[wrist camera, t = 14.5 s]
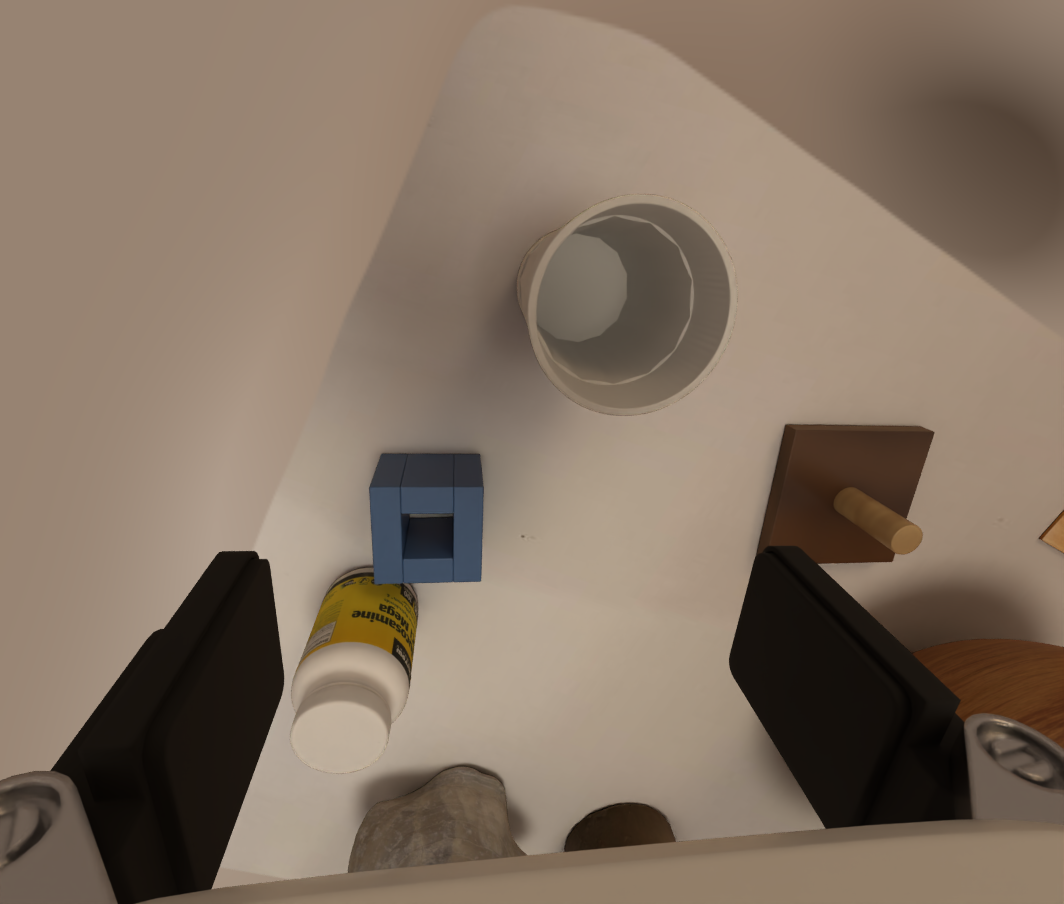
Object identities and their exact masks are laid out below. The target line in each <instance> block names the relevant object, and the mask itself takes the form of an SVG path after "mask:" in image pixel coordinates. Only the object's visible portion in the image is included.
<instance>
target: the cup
mask: <svg viewBox="0 0 1064 904" xmlns="http://www.w3.org/2000/svg"><path fill="white" fill-rule="evenodd" d="M517 297H518V302H519V306H520V308H521V311H522V313H523V315H524V317H525V320H526V323H527V327H528V331H529V336H530V340H531V344H532V347H533V350H534V353H535V356H536V358H537V360H538V362H539V364H540V366H541V368H542V370H543V371H544V373H545V374H546V376H547V377H548V378H549V380H550V381H551V382H552V383H553V385H554V386H555V387H556V388H557V389H558V390H559V391H560V392H562V393H563V394H564V395H565V396H566V397H568V398H569V399H571V400H572V401H574V402H575V403H577V404H579V405H581V406H583V407H585V408H587V409H590V410H592V411H595V412H599V413H603V414H608V415H616V416H632V415H640V414H646V413H650V412H653V411H657V410H659V409H662V408H665V407H667V406H669V405H671V404H673V403H675V402H677V401H678V400H680V399H682V398H683V397H685V396H686V395H687V394H689V393H690V392H691V391H693V390H694V389H695V388H696V387H697V386H698V385H699V384H700V383H701V382H702V381H703V380H704V379H705V378H706V377H707V376H708V375H709V374H710V372H711V371H712V370H713V368H714V367H715V366H716V364H717V363H718V361H719V360H720V358H721V356H722V354H723V353H724V351H725V349H726V346H727V344H728V342H729V339H730V337H731V334H732V331H733V327H734V323H735V318H736V312H737V302H738V290H737V280H736V274H735V269H734V266H733V262H732V259H731V256H730V254H729V252H728V249H727V247H726V245H725V243H724V242H723V240H722V238H721V237H720V235H719V234H718V233H717V231H716V230H715V229H714V227H713V226H712V225H711V224H710V223H709V222H708V221H707V220H706V219H705V218H704V217H703V216H701V215H700V214H699V213H698V212H696V211H695V210H693V209H692V208H690V207H688V206H687V205H685V204H683V203H681V202H678V201H676V200H673V199H670V198H667V197H663V196H658V195H651V194H631V195H623V196H619V197H614V198H611V199H608V200H605V201H603V202H600V203H598V204H596V205H594V206H592V207H590V208H588V209H586V210H585V211H583V212H582V213H580V214H579V215H577V216H576V217H575V218H573V219H572V220H571V221H570V222H568V223H567V224H566V225H564V226H563V227H561V228H559V229H558V230H556V231H553V232H551V233H549V234H547V235H545V236H544V237H542V238H541V239H540V240H538V241H537V242H536V243H535V244H534V245H533V246H532V247H531V249H530V250H529V251H528V253H527V254H526V256H525V257H524V259H523V261H522V264H521V266H520V269H519V273H518V277H517Z"/></svg>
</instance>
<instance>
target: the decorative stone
mask: <svg viewBox="0 0 1064 904" xmlns="http://www.w3.org/2000/svg"><path fill="white" fill-rule="evenodd" d="M518 856H528V855H527V854H525V853H524V852H523V851H522V850H521V849H520V848H519V847H518V845H517V844H516V843H515V841H514V839H513V837H512V835H511V832H510V828H509V823H508V818H507V801H506V794H505V789H504V787H503V785H502V783H501V782H499V780H498V779H496V778H495V777H493V776H490V775H486V774H483V773H480V772H478V771H477V770H475V769H473V768H469V767H456V768H451V769H448V770H445V771H443V772H441V773H440V774H438V775H437V776H435V777H434V778H433V779H432V780H431V781H430V782H428V783H427V784H426V785H424V786H423V787H421V788H420V789H418V790H416V791H414V792H412V793H410V794H407V795H405V796H401V797H398V798H395V799H392V800H388V801H382V802H379V803H377V804H376V805H375V806H374V807H373V808H372V809H371V810H370V811H369V812H368V813H367V815H366V816H365V818H364V820H363V822H362V824H361V826H360V828H359V830H358V832H357V834H356V838H355V841H354V845H353V848H352V852H351V855H350V860H349V866H348V873H354V872H364V871H374V870H385V869H395V868H405V867H416V866H426V865H436V864H446V863H457V862H467V861H477V860H487V859H498V858H508V857H518Z"/></svg>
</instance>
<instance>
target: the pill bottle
mask: <svg viewBox="0 0 1064 904" xmlns="http://www.w3.org/2000/svg"><path fill="white" fill-rule="evenodd" d="M417 620H418V602H417V598H416V595H415V592H414V591H413V589H412V587H411V586H410V585H409V584H408V583H404V582H403V583H400V584H375V583H374V568H362V569H357V570H354V571H351V572H349V573H347V574H345V575H343V576H342V577H340V578H339V579H338V580H336V581H335V582H334V583H333V584H332V585H331V587H330V588H329V590H328V591H327V593H326V595H325V598H324V600H323V602H322V605H321V607H320V610H319V613H318V615H317V618H316V621H315V623H314V626H313V628H312V631H311V634H310V637H309V639H308V642H307V644H306V647H305V649H304V652H303V655H302V657H301V660H300V662H299V665H298V667H297V670H296V673H295V675H294V679H293V682H292V688H291V699H292V704H293V707H294V710H295V712H296V715H295V718H294V722H293V725H292V728H291V733H290V742H291V746H292V749H293V751H294V753H295V754H296V755H297V757H298V758H299V759H300V760H301V761H302V762H303V763H305V764H306V765H308V766H309V767H312V768H314V769H316V770H319V771H323V772H327V773H335V774H344V773H351V772H355V771H358V770H361V769H364V768H366V767H368V766H369V765H371V764H372V763H374V762H375V761H376V760H377V759H378V758H379V757H380V756H381V755H382V754H383V752H384V750H385V748H386V746H387V743H388V739H389V733H390V728H391V724H392V723H393V722H394V721H395V720H396V719H397V718H398V717H399V715H400V714H401V712H402V711H403V709H404V707H405V704H406V701H407V698H408V694H409V688H410V680H411V670H412V662H413V653H414V644H415V636H416V628H417Z"/></svg>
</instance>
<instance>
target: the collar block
mask: <svg viewBox="0 0 1064 904" xmlns="http://www.w3.org/2000/svg"><path fill="white" fill-rule="evenodd" d="M369 493H370V512H371V531H372V549H373V568H374V583H375V584H400V583H403V582H404V583H439V582H480V581H481V570H482V532H483V494H484V486H483V477H482V468H481V459H480V454H381V456H380V459H379V462H378V465H377V467H376V470H375V473H374V476H373V479H372V482H371V484H370V487H369ZM453 512H454V518H410V519H409V514H440V513H453Z"/></svg>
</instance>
